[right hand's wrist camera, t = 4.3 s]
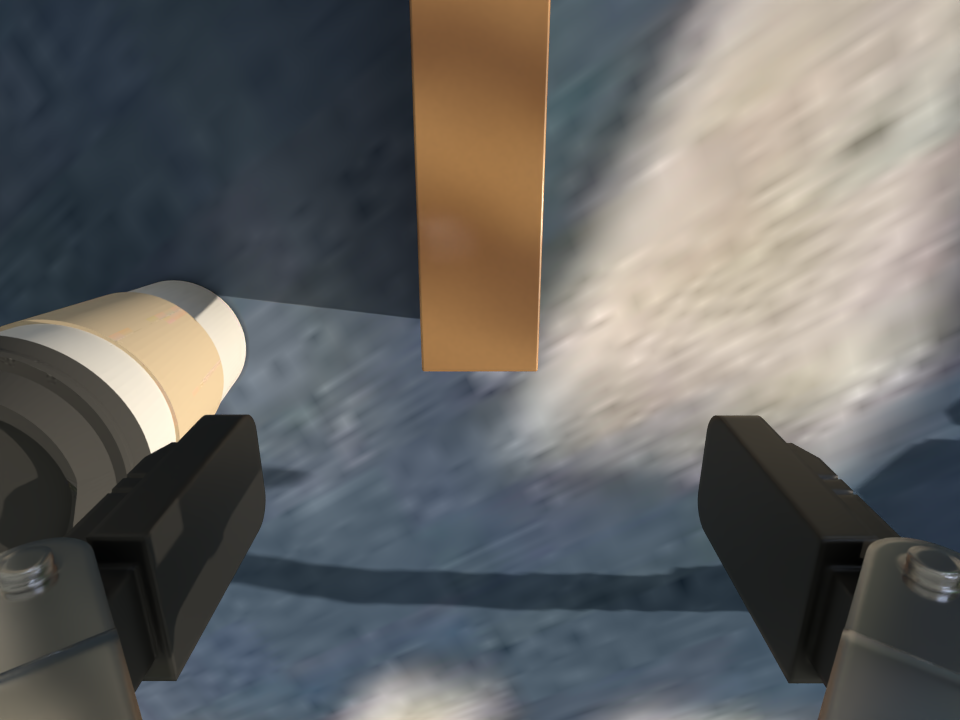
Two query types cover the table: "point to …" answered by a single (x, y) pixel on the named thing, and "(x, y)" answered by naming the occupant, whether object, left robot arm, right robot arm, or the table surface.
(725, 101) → the table surface
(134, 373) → the coffee cup
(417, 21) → the beam
